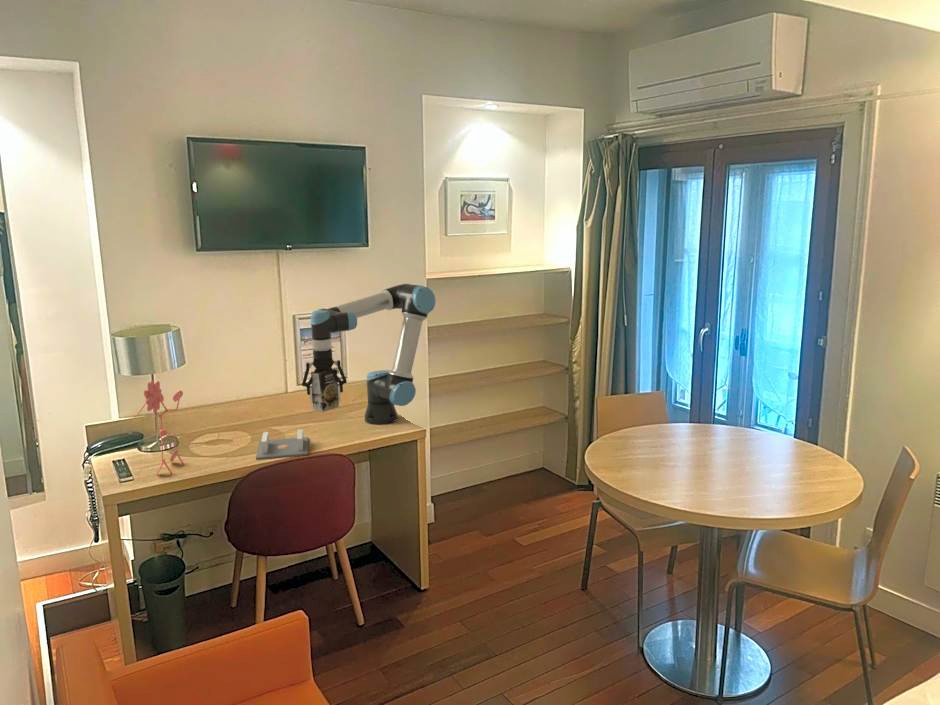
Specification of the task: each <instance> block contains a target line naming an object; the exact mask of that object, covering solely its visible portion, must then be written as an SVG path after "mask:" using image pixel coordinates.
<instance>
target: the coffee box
mask: <svg viewBox="0 0 940 705" xmlns="http://www.w3.org/2000/svg"><path fill="white" fill-rule="evenodd" d="M332 369H333V371H334V372H335V374H336V375H337V376H338V369H335V368H332ZM311 377H312V378H313V382H312V383H311V386H312V400H313V403H312V410H314V411H316V412H320V413H325V412H327V411H330V410H334V409H336V408H340V401H339V397H338V384H339V383H338V382H337V380H336V379H335V378H334V376H333V373H332V372H330V371H321V372H320V371H318V372H315V373H314V371H311V372H310V378H311Z"/></svg>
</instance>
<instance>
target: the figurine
mask: <svg viewBox="0 0 940 705" xmlns="http://www.w3.org/2000/svg"><path fill="white" fill-rule="evenodd" d="M143 395H144V398H145V402H144V403H143V404H142V406H141V407H140V408H139V410H138V411H137V412H136V414H135V415H134V418H136V417H137V416H138V415H139V414H140V413H141V412H142V410H143V409H144V408H145V406H147V408H146V410H147V411H148V412H151V411H153V414H156V415H157V417H158V418H159V419H160V430H159V432H158V434H159V435H160V440H161V462H160V464H159V466H158V469H157V470H156V472H155V473H156V474H157V475H158V474H159V473H160V470H161V469H162V467H163V465H165V466H166V468H167V470H168V471H169V473H170V474H171V473H172V474H173V471H172V470H171V469H170V467H169V466H168V464H167V463H166V461H165V459H166V458H165V457H164V446H163V445H164V444H163V442H164V441H163V437H165V436H167V434H169V435H173V440H174V441H173V443H174V451H173V453H172V455H171V456H170V458H169V461H170V462H171V463H173V461H174V460H175V459H176V458H178V459H179V461H180V462H181V464H182V465H185V463H184V461H183V460H182V457H181V456H180V455H179V449H176V433H173V432H168V431H167V430H166V429H165V428H163V418H162V417H163V416H164V415H165V414H166V413H168V412H175V411H178V410H179V409H178V408H179V405H180V400H181V398H182V397H183V395H184V392H183V390H179V391H177V392H176V393H175V394H174V395H173V396H172V400H173V401H174V403H176V402H177V404H176V408H175V409H173V408H172V409H168V408H167V407H166V406H165V404H164V400H165V398H164V395H163V393H162V388H161V382H160V381H159V380H157V381H155V380H153V379H152V380H150V382H147V390H144V391H143ZM161 405H162V406H163V408H164V410H163V412H161V414H159V412H158V411H159V410H160V409H161Z"/></svg>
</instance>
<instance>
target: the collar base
mask: <svg viewBox="0 0 940 705" xmlns="http://www.w3.org/2000/svg"><path fill="white" fill-rule="evenodd" d="M303 430H304V429H300V428H299V429H297V433H296V434H297V435H296V437H292V438H290V437H289V438H288V437H287V438H280V439H279V438H278V439H270V438H269V436H270V435H269V432H268V431H263V433H262V436H261V440H259V444H258V446H257V453H256V456H255V460H266V459H278V458H289V457H299V456H300V457H301V456H308V455H309V436H304V431H303Z"/></svg>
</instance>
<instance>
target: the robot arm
mask: <svg viewBox="0 0 940 705" xmlns="http://www.w3.org/2000/svg"><path fill="white" fill-rule="evenodd" d="M435 306H436V296H435V294H434V292H433V290H432V289H430V287H427V286H424V285H419V284H418V285H416V284H411V283H404V284H403V283H402V284H398V285H394V286H391V287H387V288H385V289H382V290H381V291H380V292H379V293H376V294H373V295H369V296H366V297H363V298H360V299H356V300H354V301H350V302H349V301H348V302H346V303H343V304H340V305H337V306H333V307H329V308H318V309H317V310H314V311H312V312H311V313H310V325H311V327H310V328H311V338H312V339H311V341H312V349H313V350H312V357H313V361H312V362H309V361H306V363H305V371H304V372H305V373H304V376H303V379H302V383H301V386H302V387H304V388H306V395H308V396H310V404H313V400H312V382H313V378H312V377H311V376H310V377H309V380H308V382H307V379H308V375H309V372H310V368H312V366H313V367H314V368H315V369H314V371H313V372H314V373H315V372H318V371H320V372H321V371H330V372H332V373H333V376H334V378H335V379H336V380H337V382H338V397H339V402H341V393H343V392H344V387H343V385H345V384H347V383H348V381H347V378H346V376H345V373H344V370H343V368H342V366H341V360H340V359H337V360H334V359H333V349H332V334H334V333H340V332H346V331H348V332H349V331H351V330H355V329H356V328H357V327H358V318H361V317H364V316H368V315H370V314H374V313H377V312H380V311H384V310H386V311H391V310H395V309H400V310H401V315H402V316H403V320H402V324H401V330H400V333H399V338H398V343H397V346H396V352H395V356H394V359H393V360H394V361H393V365H392V369H391V370H389V369H387V370H386V369H383V370H374V371H371V372H368V373H367V374H366V390H367V392H366V393H367V405H366V410H365V413H364V422H365V423H368V424H371V425H385V424H384V423H387V424H390V423H389V422H391V423H393V422H392V421H394V420H396V419H397V420H398V411H397V409H396V407H395V406H397V407H398V406H399V407H404V406H407V405H409V404H410V403H411V402H412V401H413V400H414V398H415V396H416V392H417V391H416V387H415V384H414V383H413V382H414V376H413V374H412V372H413V367H414V362H415V357H416V353H417V348H418V344H419V340H420V334H421V331H422V330H421V329H422V325H423V321H425V320H426V319H428V314H429V313H431V312H432V311H433V310H434V309H435ZM333 365H335V367H337V370H338V372H339V375H340V376H341V378H340V377H339V375H338V374H337V375H336V374H335V372H334V371H333V369H334V368H333ZM341 379H342V380H341ZM397 420H396V421H397ZM394 422H395V421H394Z"/></svg>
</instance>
